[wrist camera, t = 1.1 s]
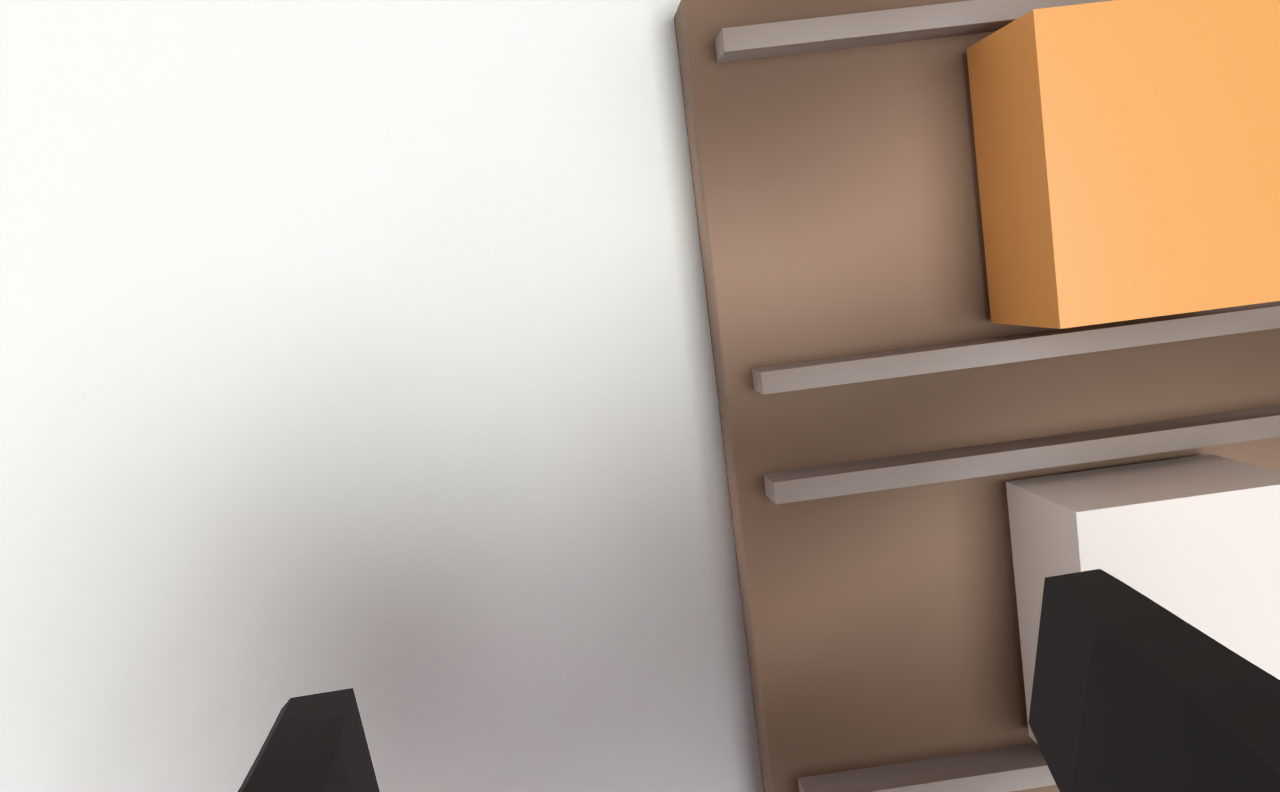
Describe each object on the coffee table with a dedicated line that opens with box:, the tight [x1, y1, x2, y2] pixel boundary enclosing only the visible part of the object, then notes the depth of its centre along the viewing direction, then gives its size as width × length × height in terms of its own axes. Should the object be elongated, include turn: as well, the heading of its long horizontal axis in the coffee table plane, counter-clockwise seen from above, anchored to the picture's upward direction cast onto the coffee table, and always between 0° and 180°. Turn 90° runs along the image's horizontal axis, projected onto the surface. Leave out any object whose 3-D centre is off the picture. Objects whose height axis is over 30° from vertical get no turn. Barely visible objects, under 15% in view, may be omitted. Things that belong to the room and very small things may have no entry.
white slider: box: [1006, 454, 1280, 744], centre depth 21 cm, size 5×4×3 cm
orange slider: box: [966, 0, 1280, 329], centre depth 20 cm, size 5×4×3 cm
